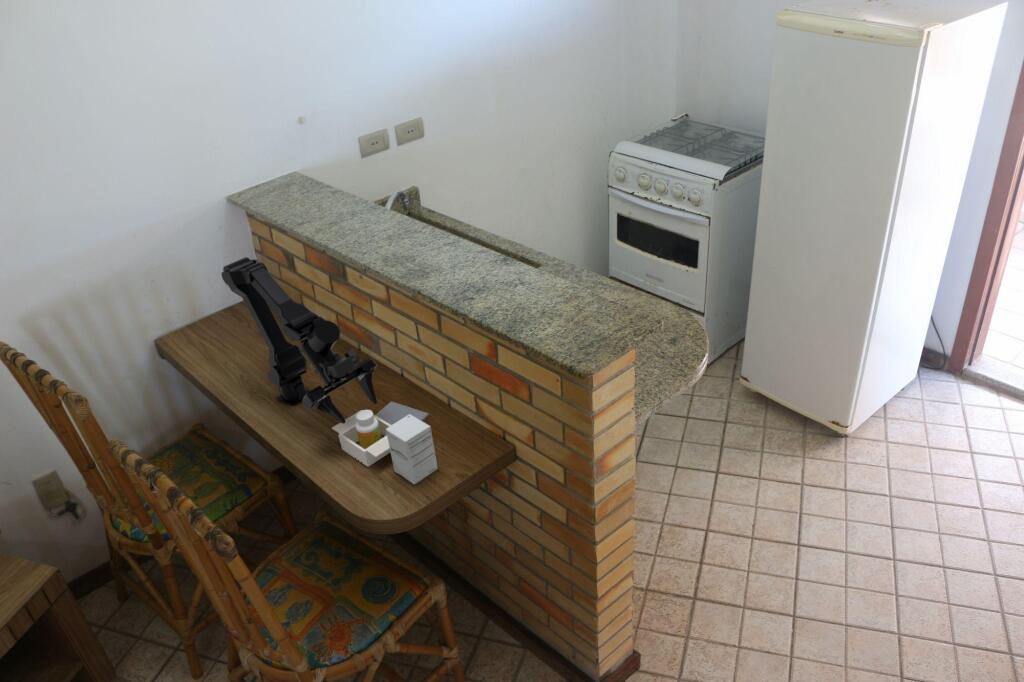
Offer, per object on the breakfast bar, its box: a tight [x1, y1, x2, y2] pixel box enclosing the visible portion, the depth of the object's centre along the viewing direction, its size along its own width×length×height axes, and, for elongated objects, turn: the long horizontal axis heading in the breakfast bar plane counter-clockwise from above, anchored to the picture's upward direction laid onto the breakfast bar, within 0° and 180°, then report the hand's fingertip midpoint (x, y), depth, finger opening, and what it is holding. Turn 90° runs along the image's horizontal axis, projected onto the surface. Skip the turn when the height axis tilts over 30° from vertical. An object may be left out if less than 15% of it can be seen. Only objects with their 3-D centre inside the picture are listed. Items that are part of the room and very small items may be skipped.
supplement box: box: [386, 414, 438, 485], centre depth 188 cm, size 7×7×13 cm
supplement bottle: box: [355, 409, 383, 449], centre depth 198 cm, size 5×5×10 cm
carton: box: [331, 409, 391, 468], centre depth 199 cm, size 17×10×4 cm, turn 46°
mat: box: [374, 401, 430, 425], centre depth 209 cm, size 12×8×1 cm, turn 58°
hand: (360, 413), depth 196 cm, fingers open, 9 cm apart
